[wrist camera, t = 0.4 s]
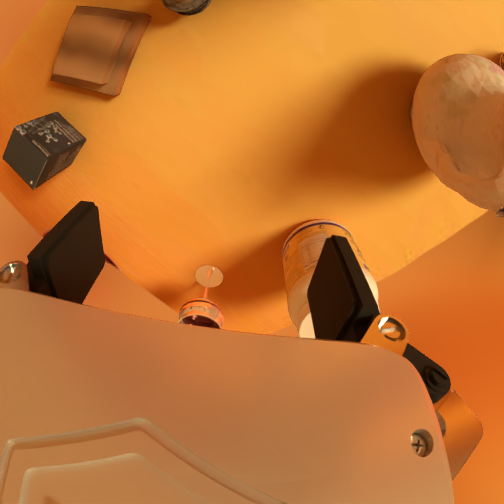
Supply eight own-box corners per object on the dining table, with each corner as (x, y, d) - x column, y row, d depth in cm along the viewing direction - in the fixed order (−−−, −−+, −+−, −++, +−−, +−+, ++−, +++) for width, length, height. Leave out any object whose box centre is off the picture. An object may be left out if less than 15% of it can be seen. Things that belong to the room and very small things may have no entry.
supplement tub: (360, 261, 48) (392, 336, 34) (296, 286, 51) (309, 366, 37) (340, 203, 42) (380, 274, 28) (268, 234, 45) (274, 314, 31)
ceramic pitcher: (406, 193, 41) (497, 305, 22) (347, 93, 32) (482, 160, 12) (487, 131, 33) (590, 204, 14) (447, 31, 24) (585, 61, 4)
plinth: (83, 7, 23) (69, 4, 19) (151, 16, 25) (140, 11, 22) (57, 79, 29) (42, 81, 26) (119, 94, 32) (106, 97, 28)
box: (88, 138, 35) (47, 160, 26) (71, 165, 37) (33, 192, 28) (57, 109, 32) (13, 126, 23) (42, 137, 34) (0, 159, 25)
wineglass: (219, 295, 52) (213, 348, 42) (184, 282, 50) (171, 334, 41) (234, 269, 49) (230, 323, 39) (197, 255, 47) (184, 307, 37)
